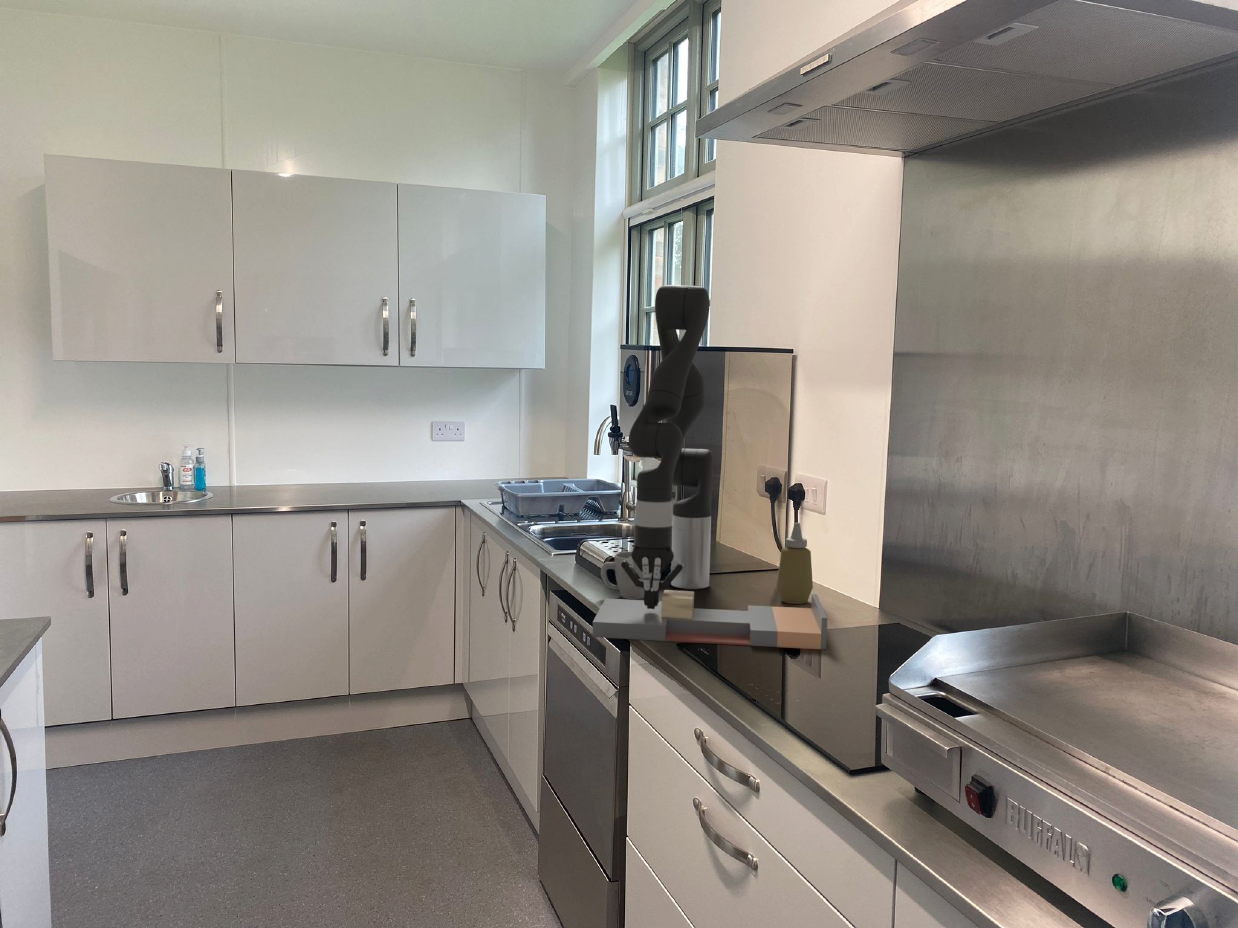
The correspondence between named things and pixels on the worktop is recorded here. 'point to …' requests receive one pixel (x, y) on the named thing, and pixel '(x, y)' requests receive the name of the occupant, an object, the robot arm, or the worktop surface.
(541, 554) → the worktop surface
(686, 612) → the maple block
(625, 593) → the mug
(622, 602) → the trap deck
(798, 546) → the squeeze bottle
